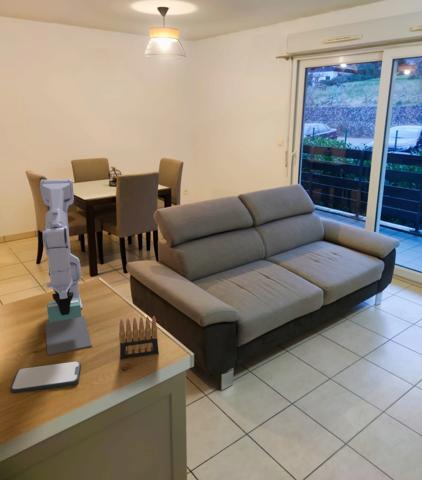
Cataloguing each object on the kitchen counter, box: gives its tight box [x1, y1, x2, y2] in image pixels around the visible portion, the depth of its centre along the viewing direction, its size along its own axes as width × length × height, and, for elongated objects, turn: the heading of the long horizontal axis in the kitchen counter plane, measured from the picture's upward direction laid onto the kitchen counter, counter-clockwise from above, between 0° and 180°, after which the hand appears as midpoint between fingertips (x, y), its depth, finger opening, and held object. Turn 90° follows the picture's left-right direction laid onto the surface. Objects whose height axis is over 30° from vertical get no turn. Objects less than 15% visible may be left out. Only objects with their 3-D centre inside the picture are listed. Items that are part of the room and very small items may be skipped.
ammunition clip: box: [118, 315, 160, 360], centre depth 108 cm, size 11×2×12 cm, turn 105°
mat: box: [45, 315, 92, 356], centre depth 118 cm, size 18×12×1 cm, turn 24°
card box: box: [46, 298, 82, 323], centre depth 116 cm, size 9×5×4 cm, turn 114°
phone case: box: [9, 360, 82, 394], centre depth 100 cm, size 9×2×16 cm
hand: (64, 309), depth 116 cm, fingers closed on card box, 5 cm apart
